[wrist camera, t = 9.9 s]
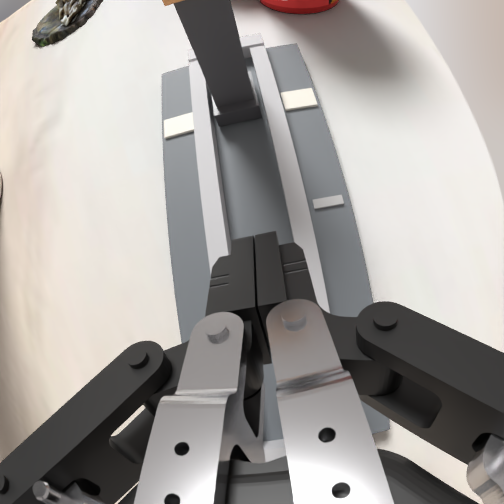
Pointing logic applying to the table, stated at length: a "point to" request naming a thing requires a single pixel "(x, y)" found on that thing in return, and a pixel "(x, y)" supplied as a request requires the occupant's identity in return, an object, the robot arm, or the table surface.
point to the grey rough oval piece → (64, 20)
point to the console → (259, 194)
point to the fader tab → (220, 58)
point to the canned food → (300, 5)
